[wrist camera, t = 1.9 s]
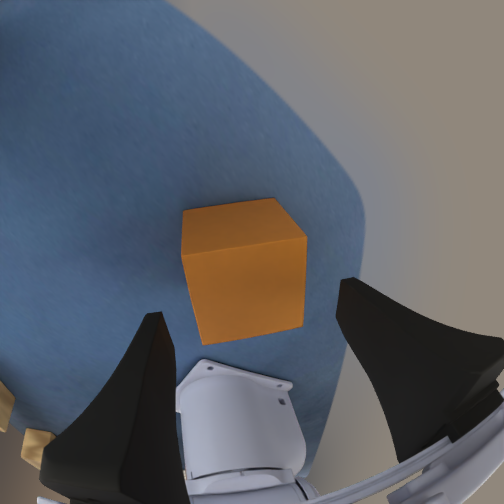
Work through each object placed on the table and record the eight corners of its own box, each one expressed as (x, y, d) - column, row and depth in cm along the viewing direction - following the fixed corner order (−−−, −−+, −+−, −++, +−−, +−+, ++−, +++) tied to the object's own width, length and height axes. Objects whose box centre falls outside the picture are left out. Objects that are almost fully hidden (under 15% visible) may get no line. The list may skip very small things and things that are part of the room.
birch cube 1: (51, 431, 24) (46, 463, 20) (70, 447, 26) (67, 476, 22) (26, 427, 23) (20, 456, 19) (45, 444, 26) (41, 471, 21)
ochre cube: (274, 197, 16) (307, 236, 11) (276, 273, 18) (303, 327, 14) (183, 210, 15) (180, 255, 11) (197, 286, 17) (202, 345, 13)
